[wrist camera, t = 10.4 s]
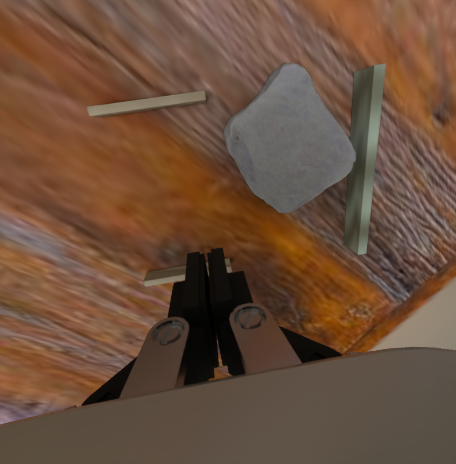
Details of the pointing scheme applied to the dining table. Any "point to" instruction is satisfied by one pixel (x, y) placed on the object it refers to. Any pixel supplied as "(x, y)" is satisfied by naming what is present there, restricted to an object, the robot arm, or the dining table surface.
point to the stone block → (288, 141)
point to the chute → (359, 178)
